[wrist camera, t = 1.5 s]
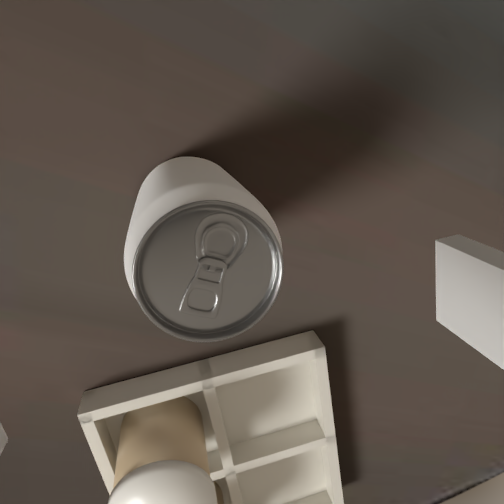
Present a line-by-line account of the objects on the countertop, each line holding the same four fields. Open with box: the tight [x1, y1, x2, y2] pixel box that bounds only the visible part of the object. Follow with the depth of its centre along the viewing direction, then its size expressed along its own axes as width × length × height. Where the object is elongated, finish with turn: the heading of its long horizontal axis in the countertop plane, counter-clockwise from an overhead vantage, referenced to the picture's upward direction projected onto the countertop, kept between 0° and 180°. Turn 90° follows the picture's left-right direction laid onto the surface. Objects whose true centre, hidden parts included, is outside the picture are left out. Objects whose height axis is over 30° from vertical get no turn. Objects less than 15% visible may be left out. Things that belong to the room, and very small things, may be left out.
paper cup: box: [108, 396, 217, 504], centre depth 27 cm, size 6×6×7 cm
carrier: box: [77, 330, 344, 504], centre depth 32 cm, size 17×17×2 cm
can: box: [124, 157, 284, 342], centre depth 20 cm, size 6×6×12 cm
